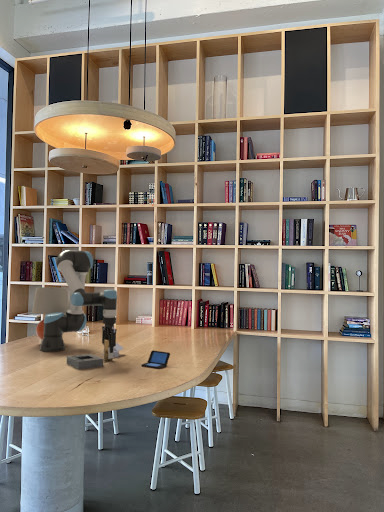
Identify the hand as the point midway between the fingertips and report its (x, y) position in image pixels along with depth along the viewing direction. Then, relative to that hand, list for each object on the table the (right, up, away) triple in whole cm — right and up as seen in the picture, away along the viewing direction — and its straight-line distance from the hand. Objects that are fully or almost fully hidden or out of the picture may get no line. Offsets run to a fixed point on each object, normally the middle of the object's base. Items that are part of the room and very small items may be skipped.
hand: (108, 357), depth 239 cm
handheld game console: (+28, -2, -11) cm, 30 cm away
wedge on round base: (0, -3, +15) cm, 15 cm away
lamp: (-50, -3, +49) cm, 71 cm away
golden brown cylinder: (0, -2, 0) cm, 2 cm away
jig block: (-10, -1, -13) cm, 17 cm away
